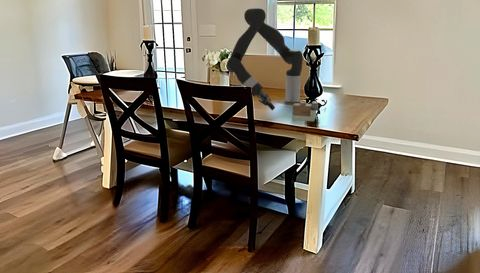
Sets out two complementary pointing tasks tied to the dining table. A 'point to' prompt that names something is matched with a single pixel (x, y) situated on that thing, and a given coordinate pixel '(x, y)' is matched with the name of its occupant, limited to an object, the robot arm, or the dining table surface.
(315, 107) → the knob
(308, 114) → the slider block
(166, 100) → the dining table surface
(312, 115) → the mount
